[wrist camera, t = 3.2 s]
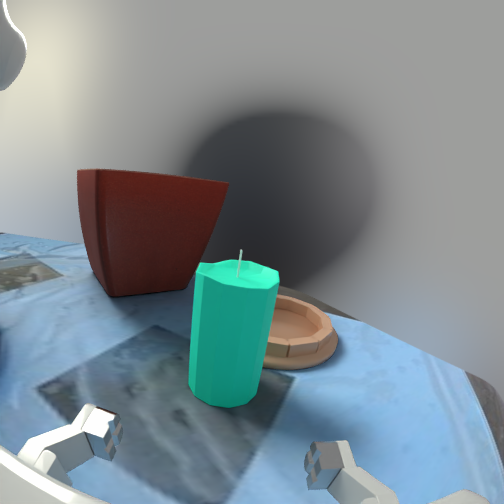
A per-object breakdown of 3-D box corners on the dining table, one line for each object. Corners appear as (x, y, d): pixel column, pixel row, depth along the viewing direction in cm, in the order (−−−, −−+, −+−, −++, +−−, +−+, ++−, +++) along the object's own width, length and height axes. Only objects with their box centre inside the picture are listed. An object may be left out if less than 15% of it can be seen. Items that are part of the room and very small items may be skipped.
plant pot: (163, 259, 56) (172, 175, 53) (218, 294, 43) (233, 182, 39) (72, 265, 43) (76, 169, 40) (94, 312, 30) (97, 168, 26)
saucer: (178, 322, 32) (179, 305, 32) (259, 296, 45) (261, 282, 44) (295, 391, 23) (301, 371, 22) (353, 333, 36) (358, 318, 35)
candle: (248, 364, 26) (268, 244, 24) (265, 405, 21) (297, 265, 18) (186, 364, 25) (195, 237, 22) (191, 408, 19) (202, 258, 16)
